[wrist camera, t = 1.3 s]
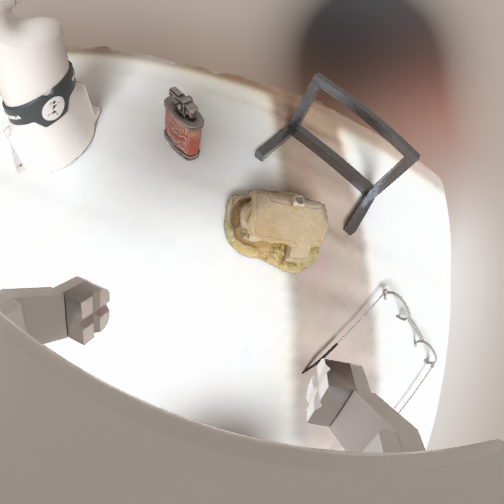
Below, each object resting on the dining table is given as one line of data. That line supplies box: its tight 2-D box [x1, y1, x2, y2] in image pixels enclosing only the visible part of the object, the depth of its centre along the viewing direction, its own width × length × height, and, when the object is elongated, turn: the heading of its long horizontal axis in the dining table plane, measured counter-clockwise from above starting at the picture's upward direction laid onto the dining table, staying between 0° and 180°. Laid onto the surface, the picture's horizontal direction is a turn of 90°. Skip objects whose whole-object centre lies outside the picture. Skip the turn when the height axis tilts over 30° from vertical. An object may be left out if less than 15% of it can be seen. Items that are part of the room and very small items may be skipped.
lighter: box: [164, 87, 204, 161], centre depth 36 cm, size 8×3×10 cm, turn 41°
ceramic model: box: [224, 190, 328, 273], centre depth 35 cm, size 14×11×10 cm
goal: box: [255, 73, 420, 235], centre depth 39 cm, size 20×11×14 cm, turn 52°
